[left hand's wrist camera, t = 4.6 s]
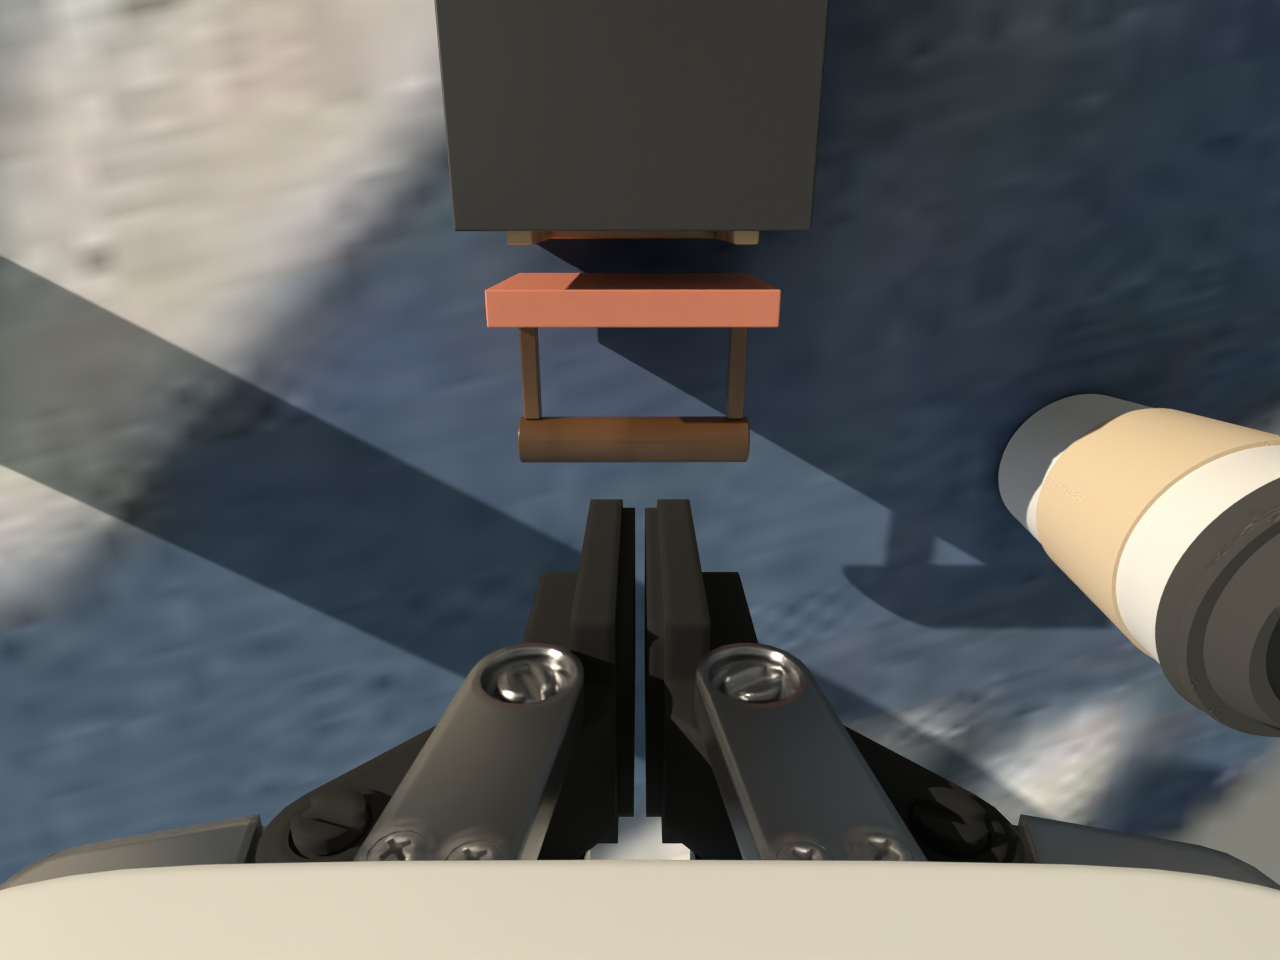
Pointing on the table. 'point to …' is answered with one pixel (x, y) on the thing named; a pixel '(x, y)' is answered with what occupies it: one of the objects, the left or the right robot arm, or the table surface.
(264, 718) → the table surface
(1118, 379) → the table surface
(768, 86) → the drawer box casing
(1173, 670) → the coffee cup
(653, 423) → the drawer
